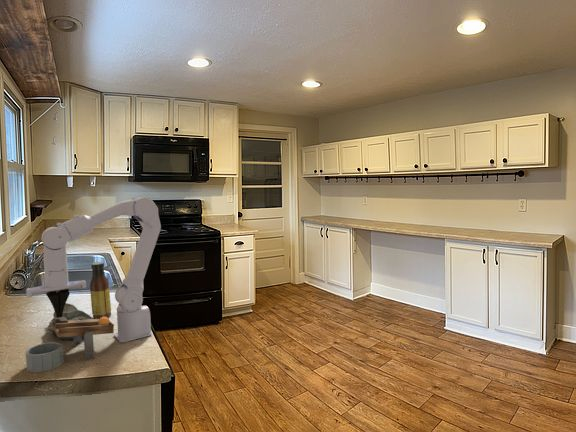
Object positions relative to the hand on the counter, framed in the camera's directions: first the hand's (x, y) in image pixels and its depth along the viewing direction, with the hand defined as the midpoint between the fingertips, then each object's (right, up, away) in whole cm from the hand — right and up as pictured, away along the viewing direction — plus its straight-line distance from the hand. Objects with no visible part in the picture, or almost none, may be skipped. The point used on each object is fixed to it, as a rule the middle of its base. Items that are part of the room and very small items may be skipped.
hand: (59, 316), depth 113 cm
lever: (+6, -3, +1) cm, 7 cm away
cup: (0, -11, -7) cm, 13 cm away
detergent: (-7, -9, +19) cm, 22 cm away
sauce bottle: (-2, -8, +30) cm, 31 cm away
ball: (+12, -2, +2) cm, 12 cm away
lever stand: (+6, -10, +1) cm, 12 cm away
